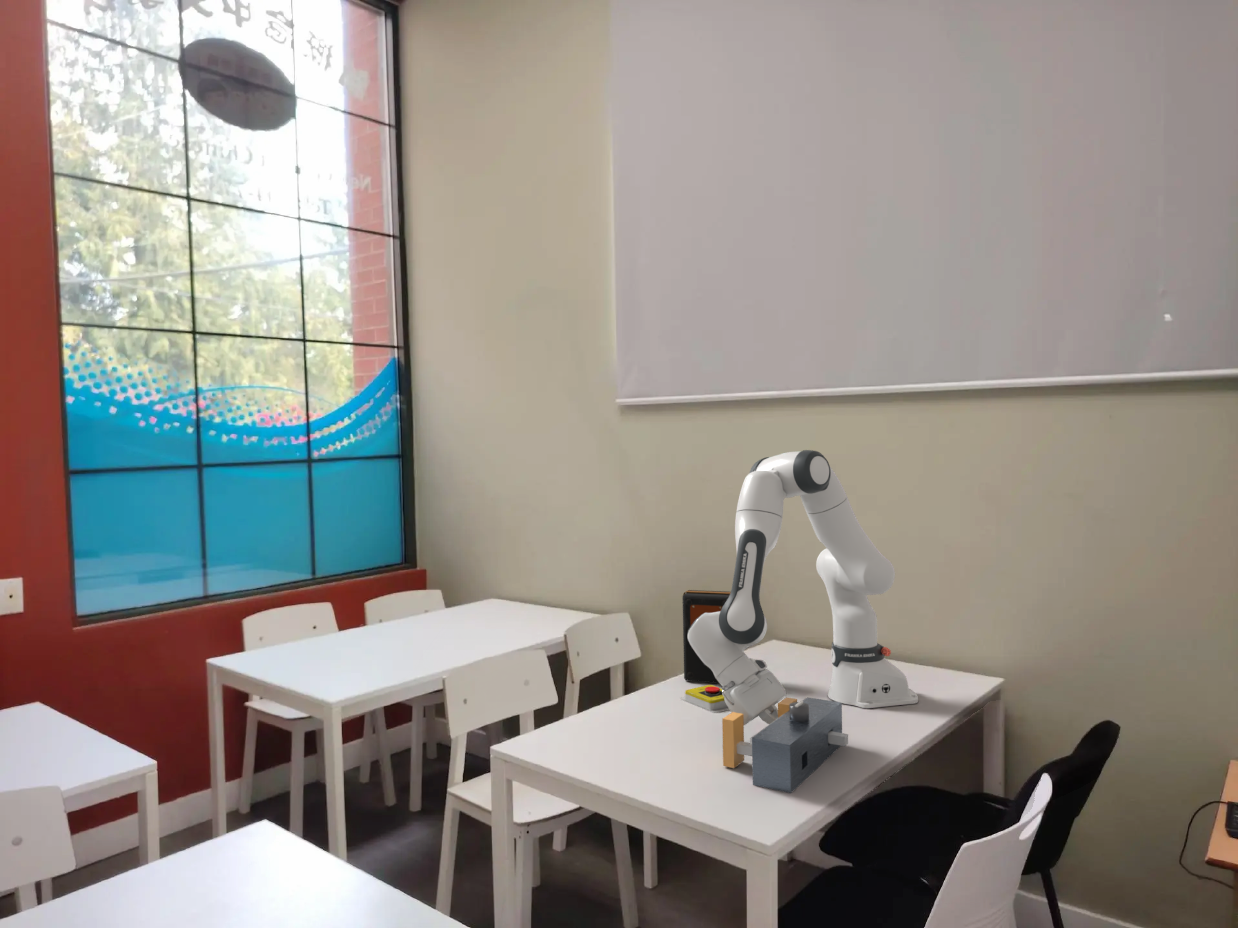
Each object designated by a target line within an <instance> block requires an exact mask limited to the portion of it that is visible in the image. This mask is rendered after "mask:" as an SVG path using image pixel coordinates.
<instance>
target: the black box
mask: <svg viewBox="0 0 1238 928" xmlns="http://www.w3.org/2000/svg"><path fill="white" fill-rule="evenodd" d="M730 593H731V591H724V590H722V591H721V590H696V589H689V590H686V591H685V592H683V595H682V630H683V631H682V632H683V633H682V638H683V639H682V640H683V641H682V642H683V644H682V645H683V679H684V680H685V681H690V682H702V683H717V684H720V683H719V682H718V680H717V679H716V678H715V676H714V674H713V672H712V670H711V669H710V668H709V667H708V666H706V665H705V664H704V663H703V662H702V660H701V659H700V658H699V657H698V655H697V654H696V652H695V651H694V650H693V648H692V646H691V645H690V643H689V641H688V630H689V628H690V626H691V625H692V624H693V622H694V621H695V620H696V619H697V618H698V617H699V616H700V615H702V614H703V613H713V612H719V611H721V609H722V607H723V606H724V604H725V602H726V601H727V599H728V597H729V595H730Z"/></svg>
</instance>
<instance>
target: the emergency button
mask: <svg viewBox="0 0 1238 928" xmlns="http://www.w3.org/2000/svg"><path fill="white" fill-rule="evenodd" d="M679 699H680V701H684V702H686V703H688V704H690V705H693V706H696V707H697V708H700V709H702V710H705V711H708V712H710V713H713V714H717V713H721V712H725V711H730V709H729V708H728V706H727V705H726V703H725V700H724V696H723V695H722V688H721V687H718V686H716V685H713V684H707V685H703V686H702V685H701V686H698V687H693V688H688V689H685V692H684V696H681V697H679Z"/></svg>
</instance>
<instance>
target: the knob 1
mask: <svg viewBox="0 0 1238 928" xmlns="http://www.w3.org/2000/svg"><path fill="white" fill-rule="evenodd" d="M721 722H722V724H721V725H722V727H721V728H722V729H721V730H722V766H723V767H727V768H731V769H735V768H737V767H738V766H739V765H740V764H741V763H744V761H745V756H747V757H752V745H751V744H750V742H747V741H745V735H744V734H745V732H744V731H745V727H744V726H745V725H744V715H743V714H741V713H736V712H731V713H729V714H728V715H726V716H724V717H722V719H721Z"/></svg>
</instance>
